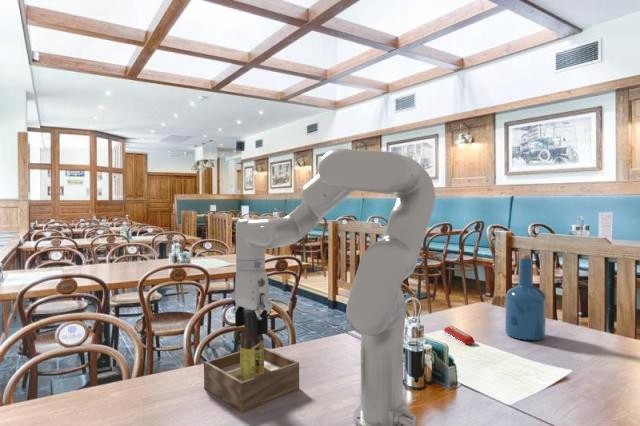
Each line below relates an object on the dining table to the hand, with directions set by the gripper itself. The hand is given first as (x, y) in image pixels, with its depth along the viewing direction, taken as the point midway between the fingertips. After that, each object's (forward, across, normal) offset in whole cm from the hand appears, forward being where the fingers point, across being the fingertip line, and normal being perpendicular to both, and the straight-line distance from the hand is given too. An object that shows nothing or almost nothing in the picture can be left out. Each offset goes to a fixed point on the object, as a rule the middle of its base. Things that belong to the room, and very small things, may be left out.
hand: (251, 329), depth 110 cm
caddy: (+16, 0, 0) cm, 16 cm away
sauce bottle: (+15, 0, 0) cm, 15 cm away
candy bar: (+16, -19, -76) cm, 81 cm away
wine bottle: (+16, -35, -96) cm, 103 cm away
